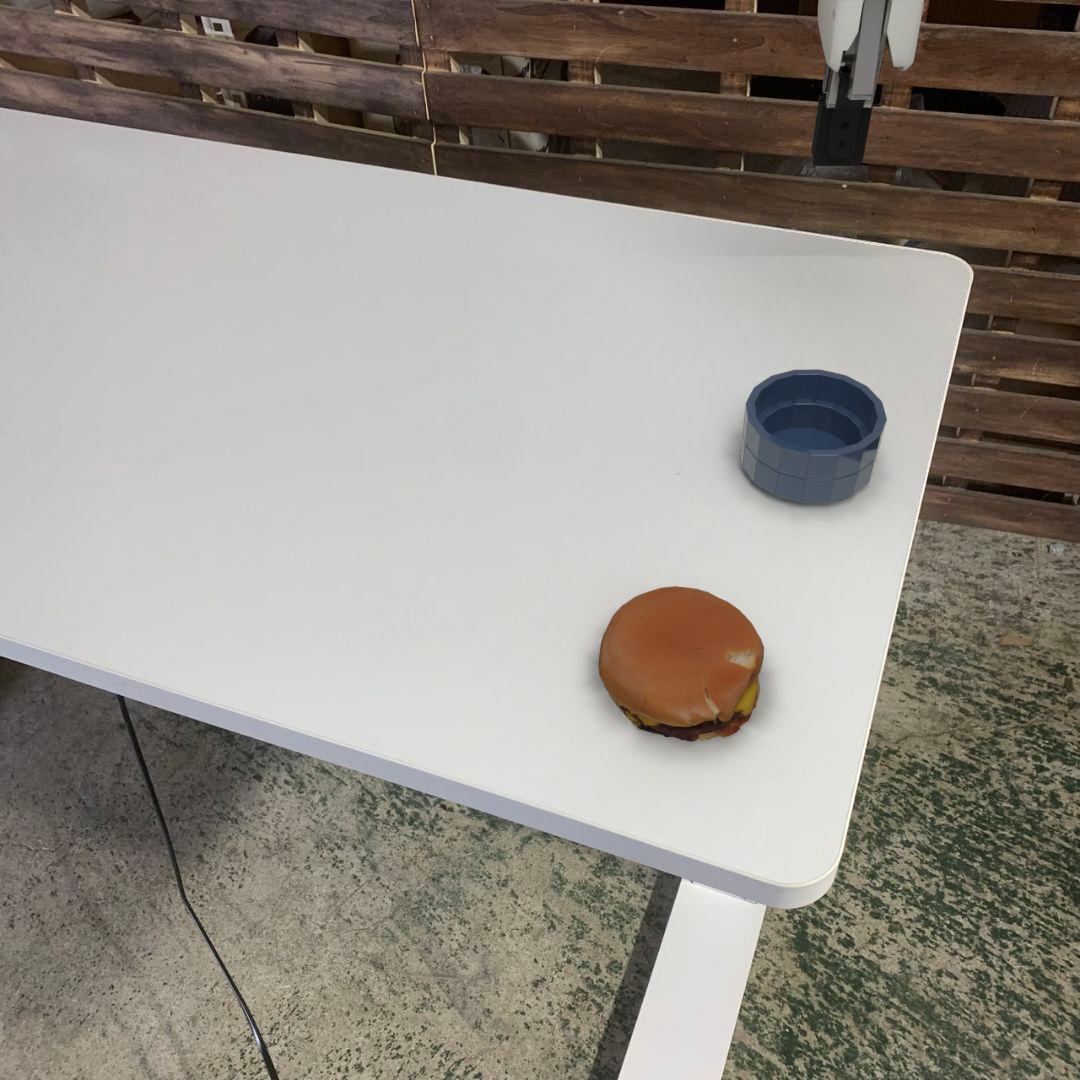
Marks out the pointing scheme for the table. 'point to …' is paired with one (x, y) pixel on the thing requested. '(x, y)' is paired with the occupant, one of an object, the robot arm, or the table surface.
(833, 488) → the bowl
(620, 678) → the burger
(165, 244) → the table surface
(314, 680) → the table surface
